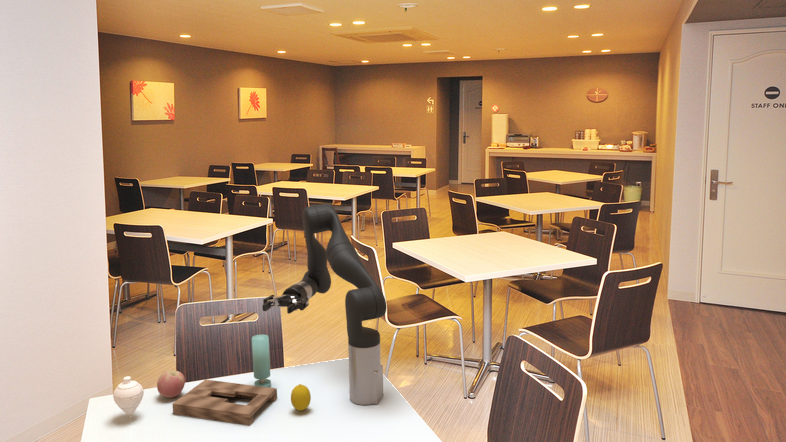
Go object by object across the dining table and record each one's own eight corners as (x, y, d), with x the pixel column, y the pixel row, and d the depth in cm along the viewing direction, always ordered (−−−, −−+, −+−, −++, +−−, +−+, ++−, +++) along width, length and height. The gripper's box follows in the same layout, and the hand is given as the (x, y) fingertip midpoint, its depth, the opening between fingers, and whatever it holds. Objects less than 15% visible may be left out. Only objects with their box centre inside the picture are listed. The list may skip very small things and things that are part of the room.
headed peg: (273, 384, 185) (271, 335, 182) (266, 391, 180) (263, 341, 177) (259, 382, 186) (256, 333, 183) (251, 389, 181) (248, 339, 179)
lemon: (307, 416, 164) (306, 389, 163) (288, 414, 166) (287, 387, 164) (313, 407, 170) (312, 380, 168) (295, 405, 171) (294, 379, 169)
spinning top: (142, 423, 162) (138, 382, 160) (112, 426, 160) (107, 384, 158) (148, 410, 169) (145, 370, 167) (120, 412, 168) (116, 372, 166)
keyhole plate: (277, 398, 175) (276, 388, 175) (249, 425, 160) (249, 414, 159) (206, 389, 182) (205, 379, 181) (173, 414, 167) (172, 403, 166)
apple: (172, 405, 172) (170, 379, 171) (152, 400, 175) (149, 374, 174) (191, 393, 179) (189, 368, 178) (171, 389, 182) (169, 364, 181)
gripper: (278, 282, 206) (255, 296, 191) (316, 285, 202) (296, 300, 187) (279, 303, 208) (256, 318, 192) (317, 306, 204) (296, 322, 189)
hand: (276, 309), depth 190 cm, fingers open, 8 cm apart
